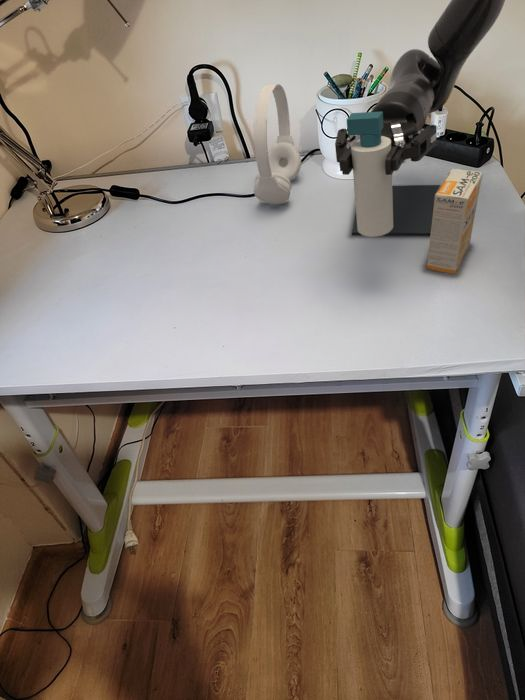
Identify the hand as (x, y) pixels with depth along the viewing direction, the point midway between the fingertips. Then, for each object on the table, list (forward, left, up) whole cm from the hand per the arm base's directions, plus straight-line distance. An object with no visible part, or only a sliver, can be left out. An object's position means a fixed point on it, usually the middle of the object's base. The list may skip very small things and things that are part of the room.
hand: (366, 167), depth 64 cm
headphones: (+20, -30, -21) cm, 41 cm away
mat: (-4, -23, -20) cm, 31 cm away
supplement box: (-12, -9, -21) cm, 26 cm away
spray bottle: (-1, -2, -10) cm, 10 cm away
